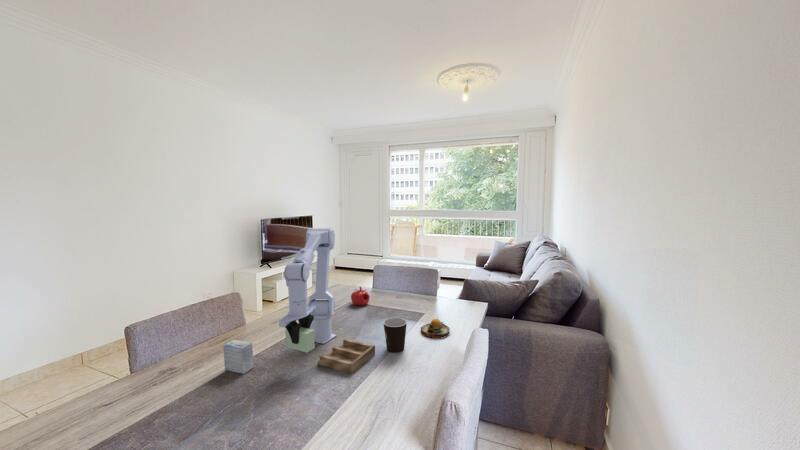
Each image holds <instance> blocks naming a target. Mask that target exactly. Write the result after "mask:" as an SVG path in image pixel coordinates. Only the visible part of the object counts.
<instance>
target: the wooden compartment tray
mask: <svg viewBox="0 0 800 450" xmlns="http://www.w3.org/2000/svg"><path fill="white" fill-rule="evenodd" d="M375 354H376V345H374V344H368V343H364V342H360V341H356V340H353V339H352V340H351V339H347V338H344V339H343V342H342V343H341V344H340V345H339V346H332V347H331V351H330V352H328V353H327V354H325V355H323V354H321V355H319V359H318V361H317V365H320V366H323V367H326V368H330V369H333V370H337V371H340V372H344V373H347V374H350V375H352V374H354V373H355V372H356V371H357V370H359V369H360V368H361V367H362V366H363V365H364V364H365V363H366V362H368V361H369V360H370V359H371V358H372V357H373V356H374V355H375Z"/></svg>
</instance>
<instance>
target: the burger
mask: <svg viewBox="0 0 800 450" xmlns="http://www.w3.org/2000/svg"><path fill="white" fill-rule="evenodd" d="M450 330H451V329H450V327H449V326H448V325H447V324H445V323H444V322H443V321H441V320H440V319H439V318H433V319H432V320H431V321H430V323H426V324H424V325H422V326H421V327H420V333H421V334H422V335H423V336H424V337H427V338H428V337H429V338H430V337H431V338H432V339H442V338H441V337H444V336H447V335H448V334H449V332H451V331H450ZM449 335H450V334H449ZM449 335H448V336H449ZM448 336H447V337H448ZM444 338H445V337H444Z"/></svg>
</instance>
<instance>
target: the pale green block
mask: <svg viewBox="0 0 800 450" xmlns="http://www.w3.org/2000/svg"><path fill="white" fill-rule="evenodd" d="M284 329H285V347H286V348H288V349H293V350H296V351H300V352H302V353H303V352H304V353H309V352H310V351H312V350H314V349H315V348H316V344H315V343H316V342H315V340H314V330H313V329H308V328H304V327H300V330H299V342H298V344H294V343H292V341H291V337H290V335H289V333H288V331H287V329H286V328H284Z"/></svg>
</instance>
